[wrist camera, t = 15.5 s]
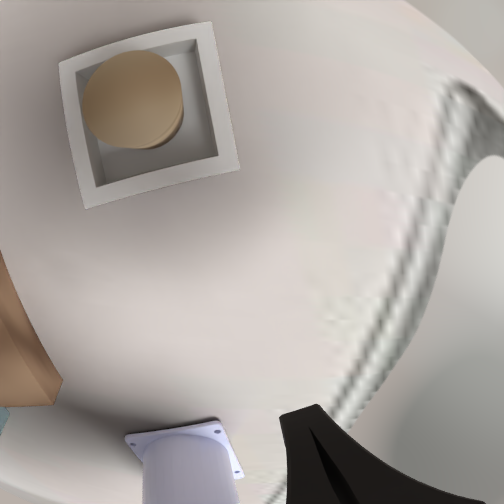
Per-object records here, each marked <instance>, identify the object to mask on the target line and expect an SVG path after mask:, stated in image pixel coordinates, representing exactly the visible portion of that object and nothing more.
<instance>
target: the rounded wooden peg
mask: <svg viewBox="0 0 504 504" xmlns="http://www.w3.org/2000/svg"><path fill="white" fill-rule="evenodd" d="M82 111H83V116H84V120H85V122H86V125H87V126H88V128H89V130H90V131H91V132H92V133H93V135H95V136H96V137H97V138H98V139H99V140H101V141H102V142H104V143H106V144H108V145H112V146H115V147H122V148H133V149H145V150H147V149H155V148H158V147H161V146H163V145H165V144H166V143H168V142H169V141H170V140H171V139H172V138H173V137H174V136H175V135H176V134H177V133H178V131H179V129H180V127H181V125H182V122H183V117H184V107H183V98H182V89H181V82H180V79H179V76H178V74H177V72H176V70H175V69H174V67H173V66H172V65H171V64H170V63H169V62H168V61H167V60H166V59H165V58H163V57H162V56H160V55H158V54H155V53H153V52H149V51H143V50H134V51H128V52H123V53H120V54H118V55H115V56H114V57H112V58H110V59H108V60H107V61H105V62H104V63H103V64H102V65H100V66H99V67H98V68H97V70H96V71H95V72H94V73H93V75H92V76H91V77H90V79H89V81H88V83H87V85H86V87H85V90H84V94H83V100H82Z"/></svg>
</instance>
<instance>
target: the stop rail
mask: <svg viewBox="0 0 504 504" xmlns="http://www.w3.org/2000/svg"><path fill="white" fill-rule="evenodd" d="M8 417H9V412H8V411H7V410H6V408H5V407H0V435H1V433H2V430H3V428H4V426H5V423H6V421H7V419H8Z"/></svg>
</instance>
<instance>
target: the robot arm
mask: <svg viewBox="0 0 504 504" xmlns="http://www.w3.org/2000/svg"><path fill="white" fill-rule="evenodd" d="M279 420H280V424H281V429H282V434H283V438H284V443H285V447H286V454H287V498H286V504H486V503H485V502H483V501H479V500H474V499H469V498H465V497H461V496H457V495H454V494H451V493H447V492H445V491H441V490H439V489H436V488H434V487H431V486H429V485H426V484H424V483H422V482H419V481H417V480H415V479H413V478H411V477H409V476H407V475H405V474H403V473H401V472H400V471H398V470H396V469H394V468H392V467H391V466H389V465H387V464H386V463H385V462H383V461H382V460H380V459H379V458H377V457H376V456H374V455H373V454H372V453H370V452H369V451H368V450H366V449H365V448H364V447H362V446H361V445H360V444H359V443H357V442H356V441H355V440H354V439H353V438H351V437H350V436H349V435H348V434H347V433H346V432H345V431H344V430H342V429H341V428H340V427H339V426H338V425H337V424H336V423H335V422H334V421H333V420H332V419H331V418H330V417H329V416H328V414H327V413H326V412H325V411H324V410H323V409H322V408H321V406H320V405H318V404H314V405H311V406H308V407H305V408H302V409H299V410H296V411H293V412H289V413H286V414H283V415H281V416H280V417H279ZM125 442H126V443H127V444H128V446H129V447H130V448H131V450H132V451H133V452H134V453H135V455H136V456H137V457H138V458H139V459H140V461H141V462H142V463H143V504H240V501H239V497H238V492H237V488H236V484H235V479H240V478H243V477H244V472H243V470H242V468H241V466H240V463H239V461H238V459H237V457H236V455H235V453H234V450H233V448H232V446H231V444H230V441H229V439H228V437H227V435H226V432H225V430H224V428H223V425H222V423H221V422H219V421H211V422H206V423H201V424H195V425H190V426H184V427H179V428H173V429H166V430H160V431H152V432H145V433H136V434H128V435H126V436H125Z"/></svg>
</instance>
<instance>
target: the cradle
mask: <svg viewBox="0 0 504 504" xmlns="http://www.w3.org/2000/svg"><path fill="white" fill-rule="evenodd" d="M134 50H143V51H149V52H153V53H155V54H158V55H160V56H162V57H163V58H165V59H166V60H167V61H168V62H169V63H170V64H171V65H172V66H173V67H174V69H175V70H176V72H177V74H178V76H179V79H180V82H181V89H182V98H183V107H184V117H183V122H182V125H181V127H180V129H179V131H178V133H177V134H176V135H175V136H174V137H173V138H172V139H171V140H170V141H169V142H168V143H166V144H165V145H163V146H161V147H158V148H155V149H147V150H145V149H133V148H122V147H115V146H112V145H108V144H106V143H104V142H102V141H101V140H99V139H98V138H97V137H96V136H95V135H93V133H92V132H91V131H90V130H89V128H88V126H87V125H86V122H85V120H84V116H83V111H82V100H83V94H84V90H85V87H86V85H87V83H88V81H89V79H90V77H91V76H92V75H93V73H94V72H95V71H96V70H97V68H98V67H99V66H100V65H102V64H103V63H104V62H105V61H107V60H108V59H110V58H112V57H114V56H115V55H118V54H120V53H123V52H128V51H134ZM58 67H59V77H60V86H61V94H62V102H63V108H64V115H65V121H66V127H67V133H68V138H69V144H70V149H71V154H72V158H73V163H74V167H75V172H76V176H77V180H78V184H79V188H80V192H81V196H82V200H83V204H84V208H85V210H86V209H89V208H93V207H96V206H99V205H102V204H106V203H109V202H113V201H116V200H120V199H123V198H127V197H130V196H134V195H137V194H141V193H145V192H148V191H152V190H156V189H160V188H164V187H168V186H172V185H176V184H180V183H184V182H188V181H192V180H197V179H201V178H205V177H210V176H214V175H219V174H223V173H228V172H233V171H238V170H240V165H239V160H238V155H237V149H236V144H235V139H234V134H233V129H232V123H231V118H230V113H229V108H228V103H227V97H226V92H225V87H224V82H223V77H222V72H221V67H220V61H219V56H218V51H217V46H216V41H215V36H214V31H213V26H212V21H208V22H201V23H195V24H189V25H183V26H178V27H173V28H168V29H164V30H159V31H155V32H151V33H147V34H143V35H139V36H135V37H131V38H128V39H124V40H121V41H118V42H114V43H111V44H108V45H105V46H102V47H99V48H96V49H93V50H90V51H87V52H85V53H82V54H79V55H77V56H74V57H72V58H69V59H67V60H64V61H62V62H59V63H58Z"/></svg>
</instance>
